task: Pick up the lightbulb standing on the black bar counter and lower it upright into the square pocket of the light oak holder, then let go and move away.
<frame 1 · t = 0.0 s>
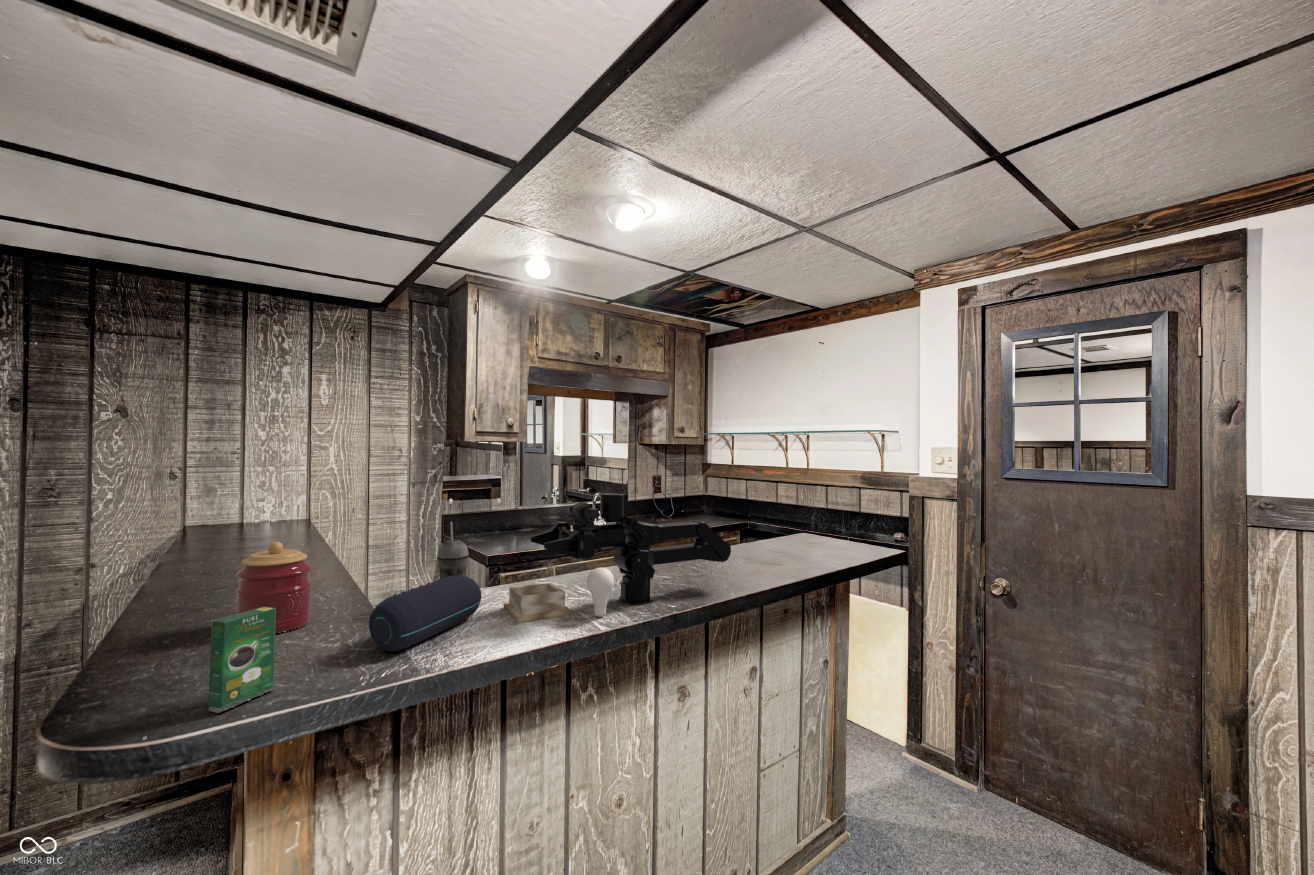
hand: (537, 542, 122), 17 cm above the worktop, tool horizontal, fingers open, 9 cm apart
canister: (274, 627, 114), on the worktop
portable speaker: (427, 635, 110), on the worktop
coffee box: (242, 702, 81), on the worktop
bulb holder: (536, 610, 126), on the worktop
beverage cup: (452, 605, 130), on the worktop
lightbulb: (600, 617, 122), on the worktop
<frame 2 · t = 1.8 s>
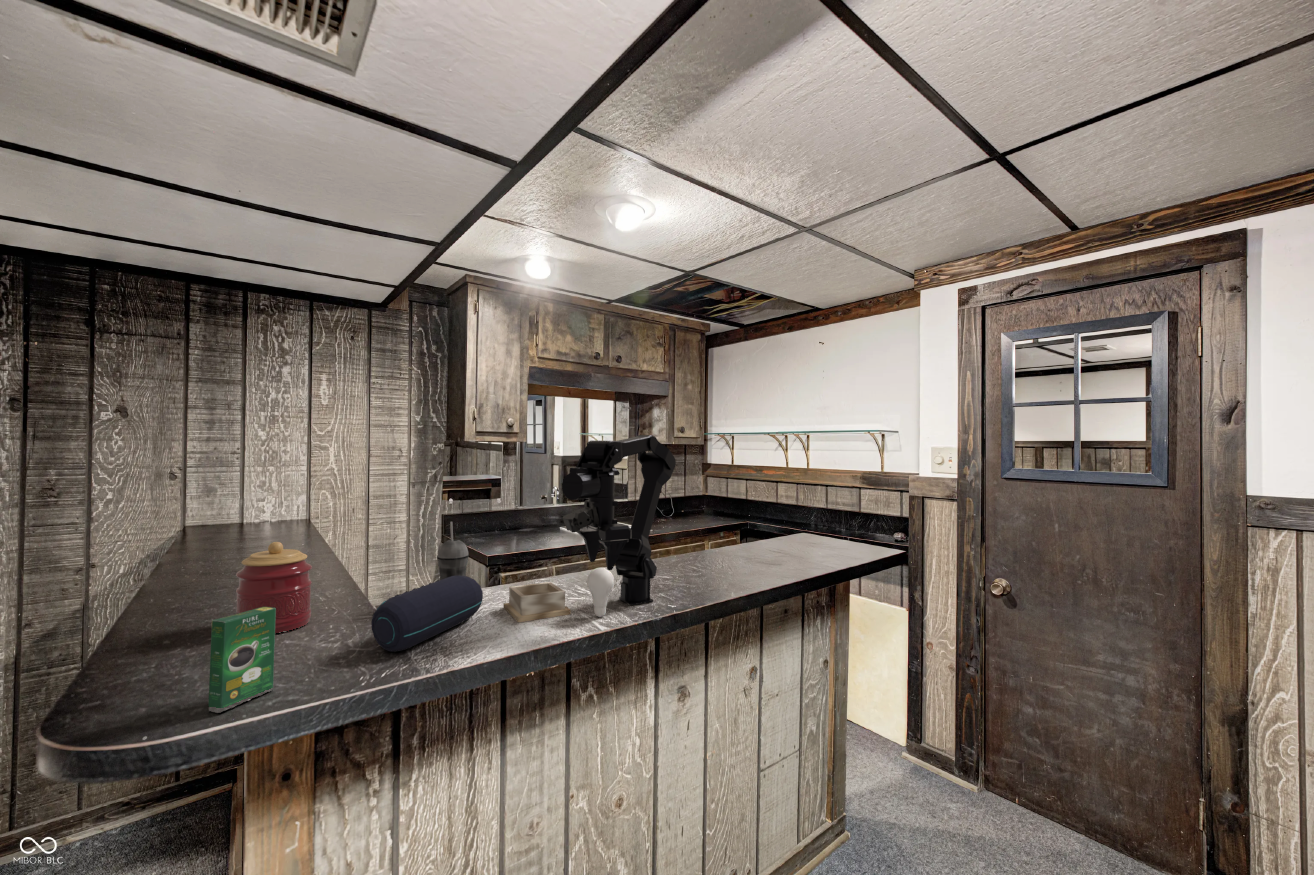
hand: (600, 565, 122), 11 cm above the worktop, tool pointing down, fingers open, 9 cm apart
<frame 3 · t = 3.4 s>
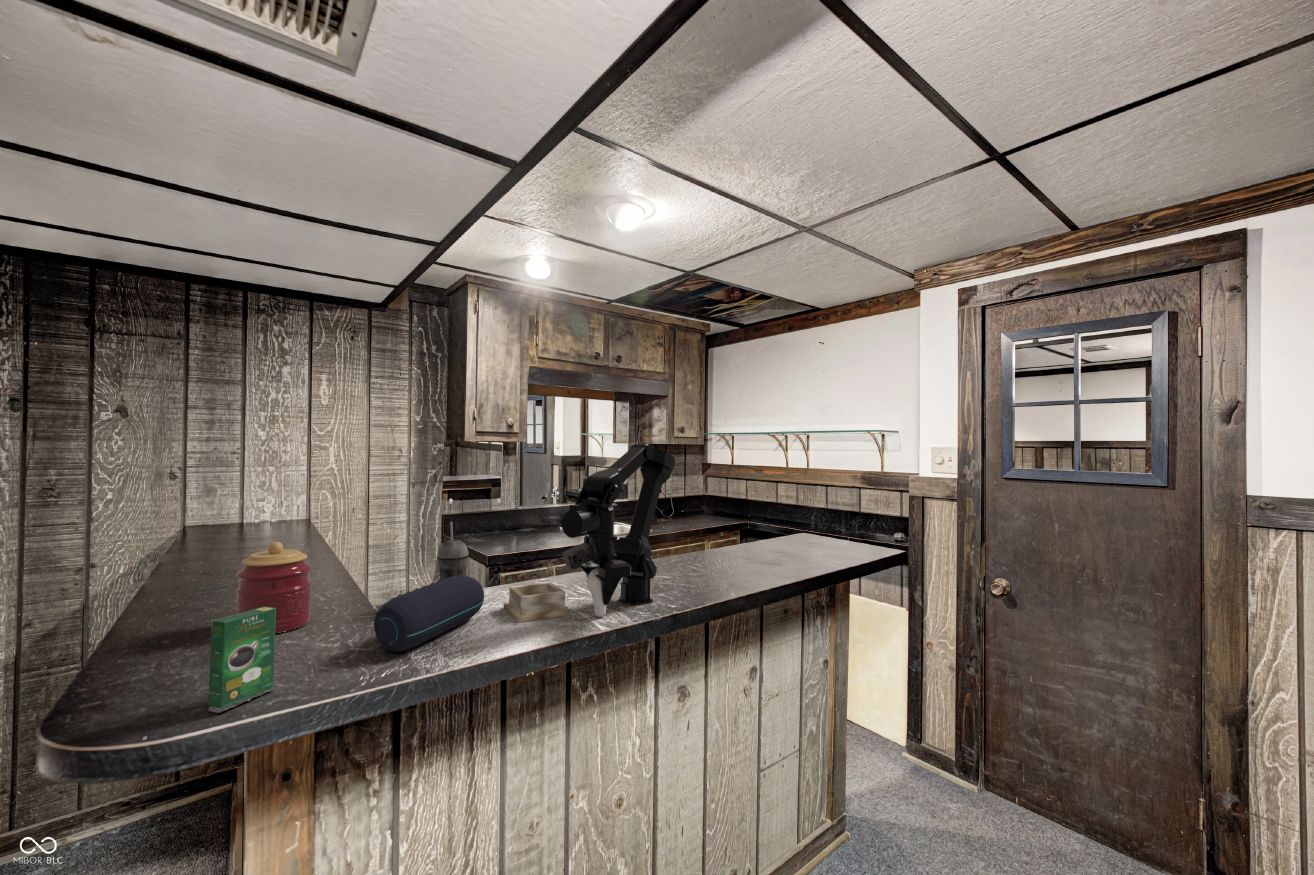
hand: (600, 601, 122), 4 cm above the worktop, tool pointing down, fingers closed on lightbulb, 5 cm apart
lightbulb: (600, 617, 122), on the worktop, touching gripper
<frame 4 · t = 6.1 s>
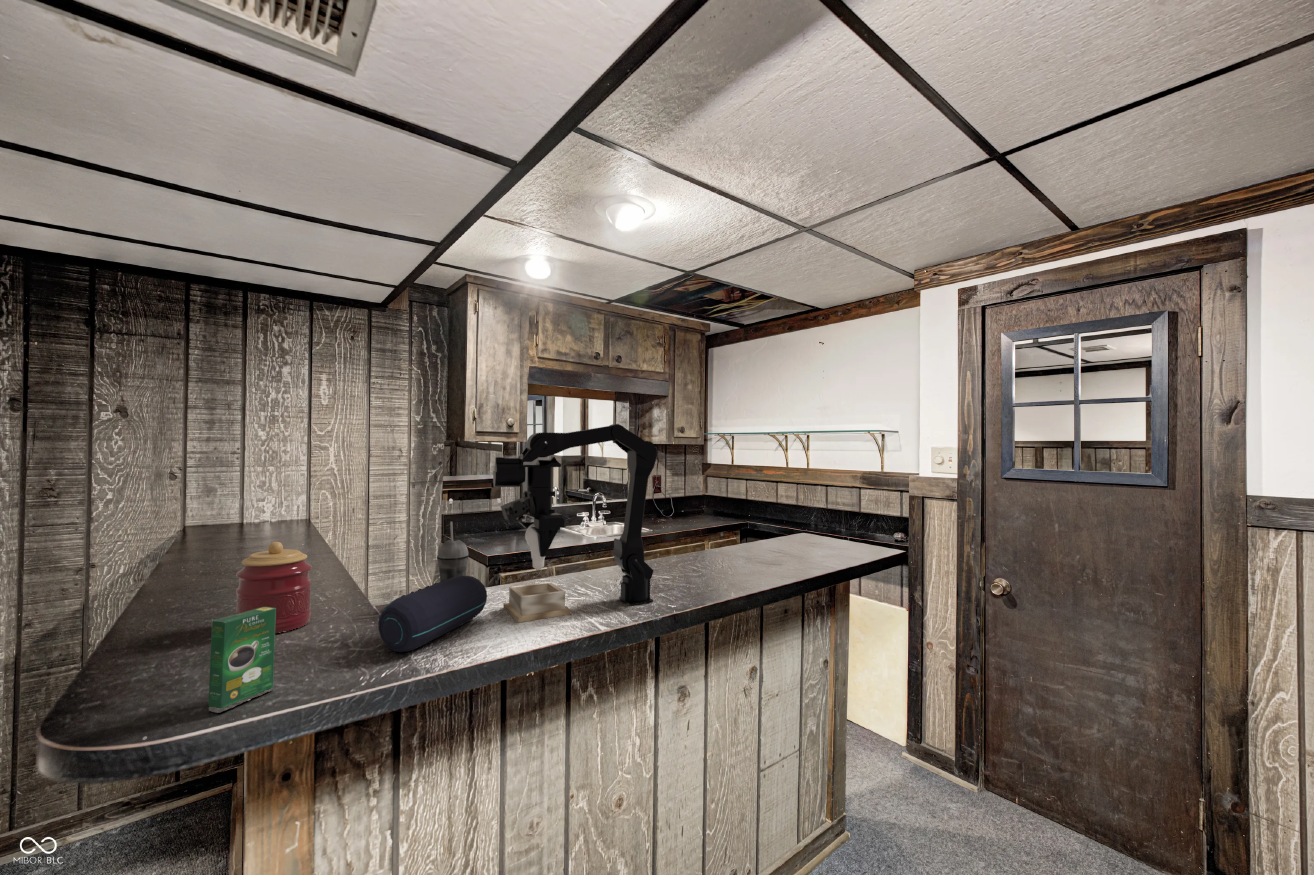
hand: (538, 554, 126), 13 cm above the worktop, tool pointing down, fingers closed on lightbulb, 5 cm apart
lightbulb: (538, 570, 126), point 9 cm above the worktop, touching gripper
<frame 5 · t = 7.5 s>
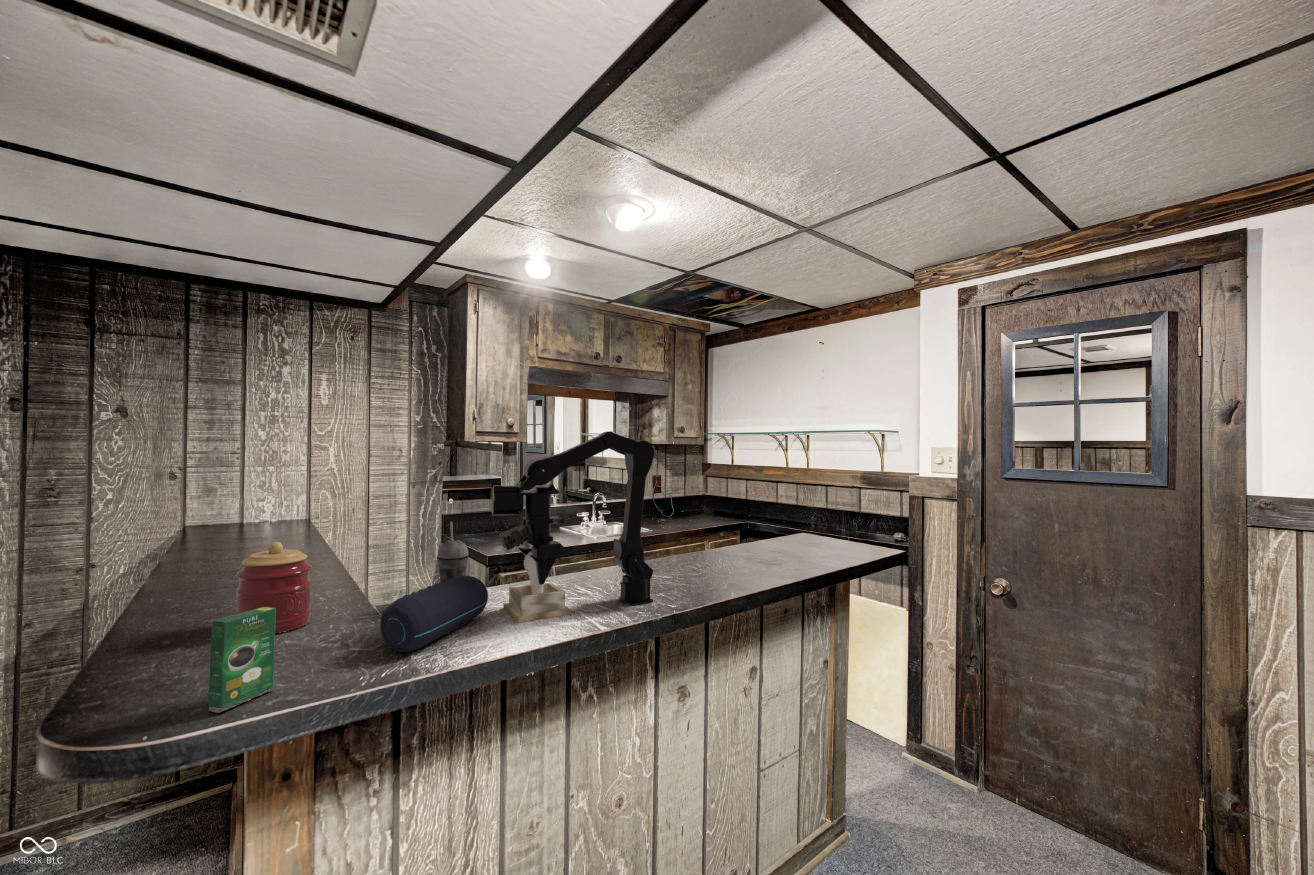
hand: (537, 581, 126), 7 cm above the worktop, tool pointing down, fingers closed on lightbulb, 5 cm apart
lightbulb: (537, 598, 126), point 3 cm above the worktop, touching gripper
when the fingers open (6 cm above the worktop, at t = 8.9 s): lightbulb drops 1 cm, resting on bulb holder.
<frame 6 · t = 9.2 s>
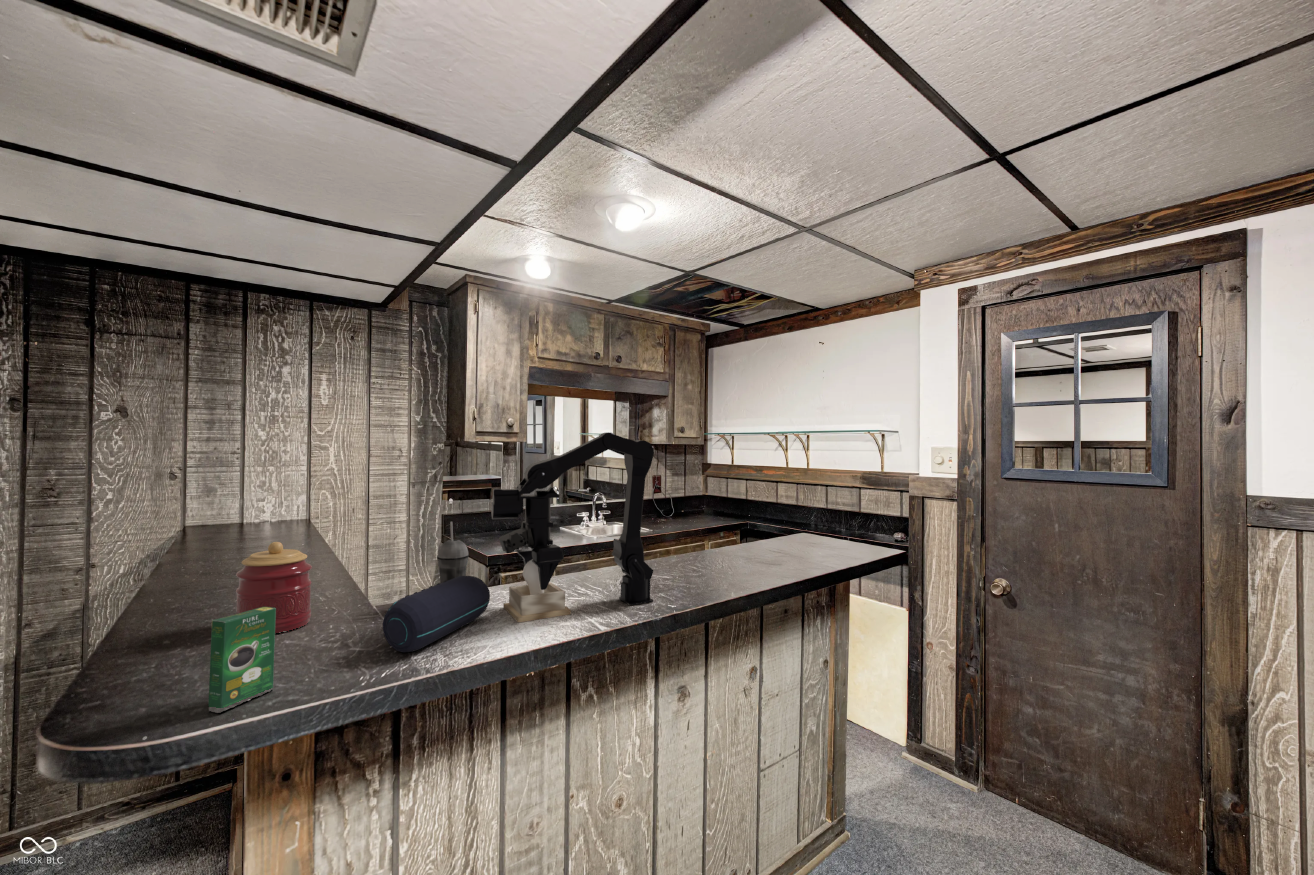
hand: (537, 584, 126), 6 cm above the worktop, tool pointing down, fingers open, 9 cm apart
lightbulb: (537, 607, 126), point 1 cm above the worktop, touching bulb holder
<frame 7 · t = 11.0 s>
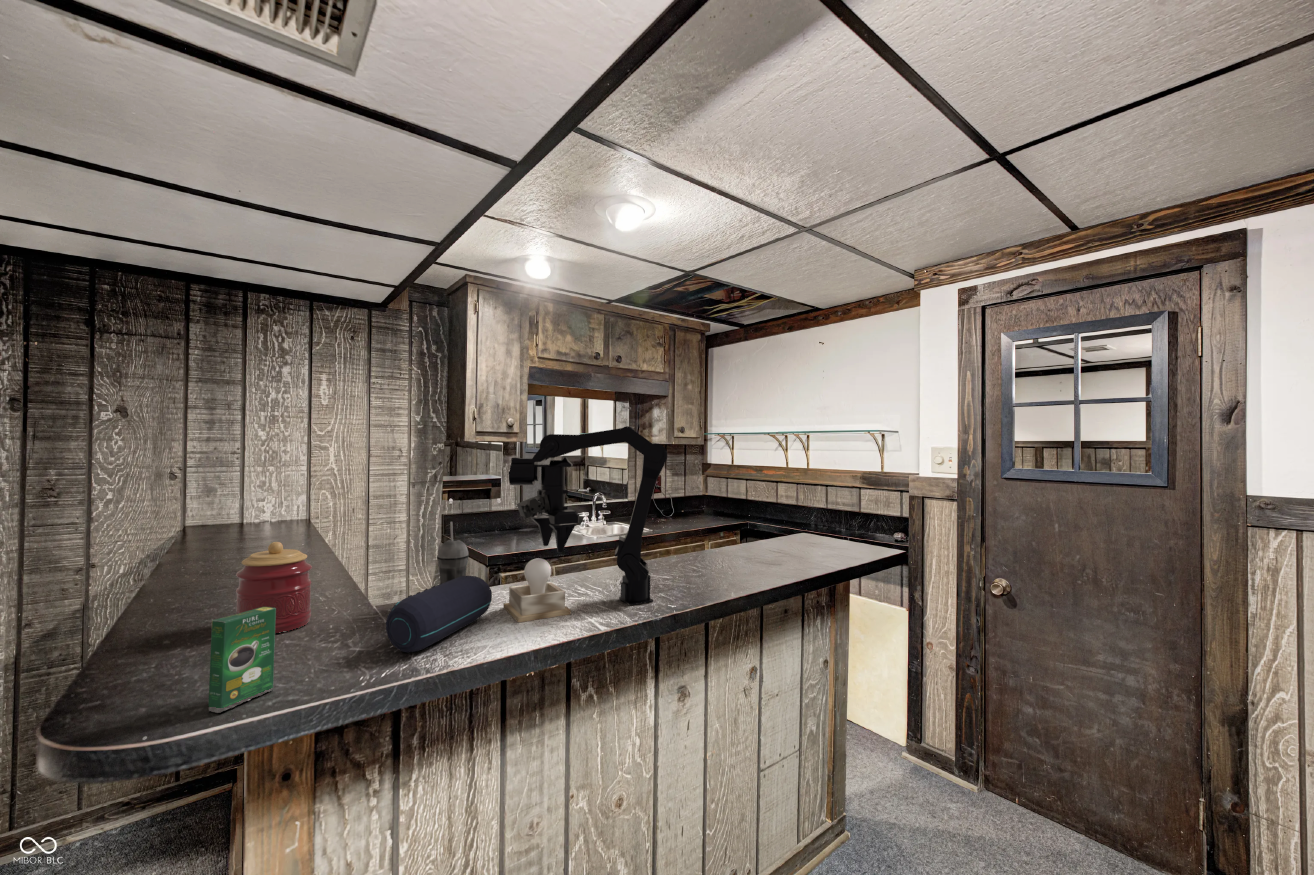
hand: (552, 548, 134), 13 cm above the worktop, tool pointing down, fingers open, 9 cm apart
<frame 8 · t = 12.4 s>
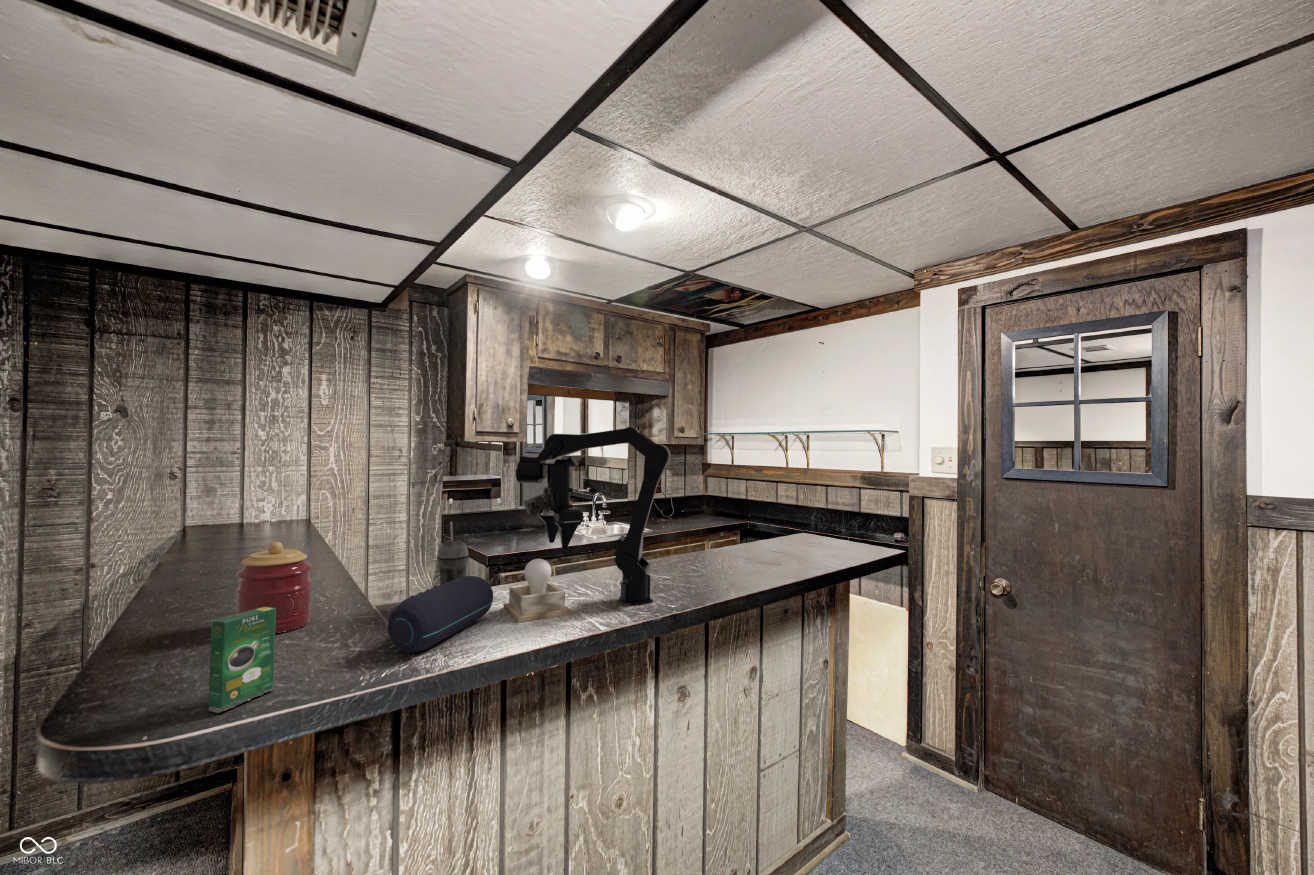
hand: (557, 545, 137), 13 cm above the worktop, tool pointing down, fingers open, 9 cm apart
at the end: lightbulb 0.2 cm off-centre on the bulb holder, point 0.8 cm above the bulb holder's base; lightbulb tilted 1°; the gripper is holding nothing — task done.
